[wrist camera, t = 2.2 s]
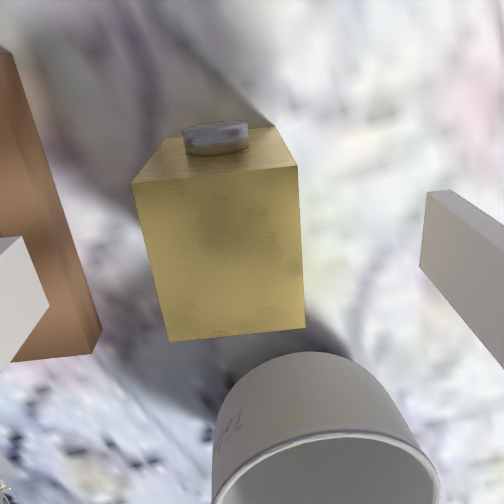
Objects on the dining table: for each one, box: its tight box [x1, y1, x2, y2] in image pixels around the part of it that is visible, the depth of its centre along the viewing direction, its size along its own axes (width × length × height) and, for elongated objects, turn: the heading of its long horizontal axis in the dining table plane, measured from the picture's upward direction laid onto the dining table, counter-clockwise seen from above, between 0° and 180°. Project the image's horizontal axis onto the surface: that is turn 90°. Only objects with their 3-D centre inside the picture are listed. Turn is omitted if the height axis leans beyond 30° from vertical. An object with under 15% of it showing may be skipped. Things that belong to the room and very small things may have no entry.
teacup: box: [211, 352, 441, 504], centre depth 23 cm, size 14×11×8 cm
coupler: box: [131, 121, 306, 343], centre depth 17 cm, size 5×8×7 cm, turn 6°
